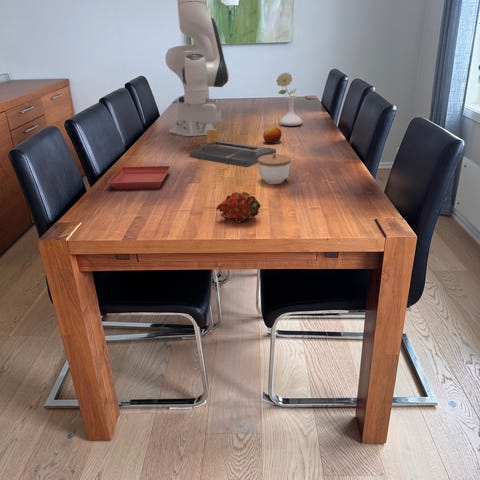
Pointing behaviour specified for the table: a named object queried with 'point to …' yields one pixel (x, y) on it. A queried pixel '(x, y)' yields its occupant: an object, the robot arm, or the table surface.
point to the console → (231, 153)
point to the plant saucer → (139, 177)
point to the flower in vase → (290, 117)
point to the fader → (212, 136)
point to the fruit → (272, 135)
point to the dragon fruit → (239, 207)
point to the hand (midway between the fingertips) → (200, 133)
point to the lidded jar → (274, 168)
